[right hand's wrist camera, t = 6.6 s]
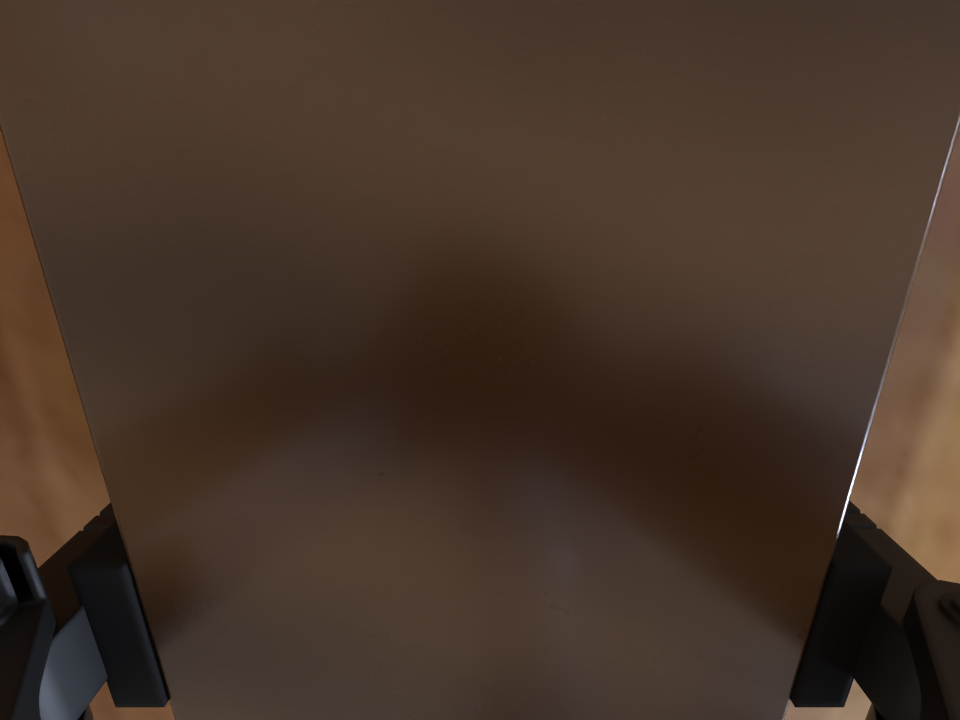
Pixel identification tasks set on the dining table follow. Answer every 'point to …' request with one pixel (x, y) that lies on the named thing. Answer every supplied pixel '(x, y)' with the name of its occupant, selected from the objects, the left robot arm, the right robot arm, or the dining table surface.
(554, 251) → the wooden beam
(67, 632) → the right robot arm
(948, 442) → the dining table surface
